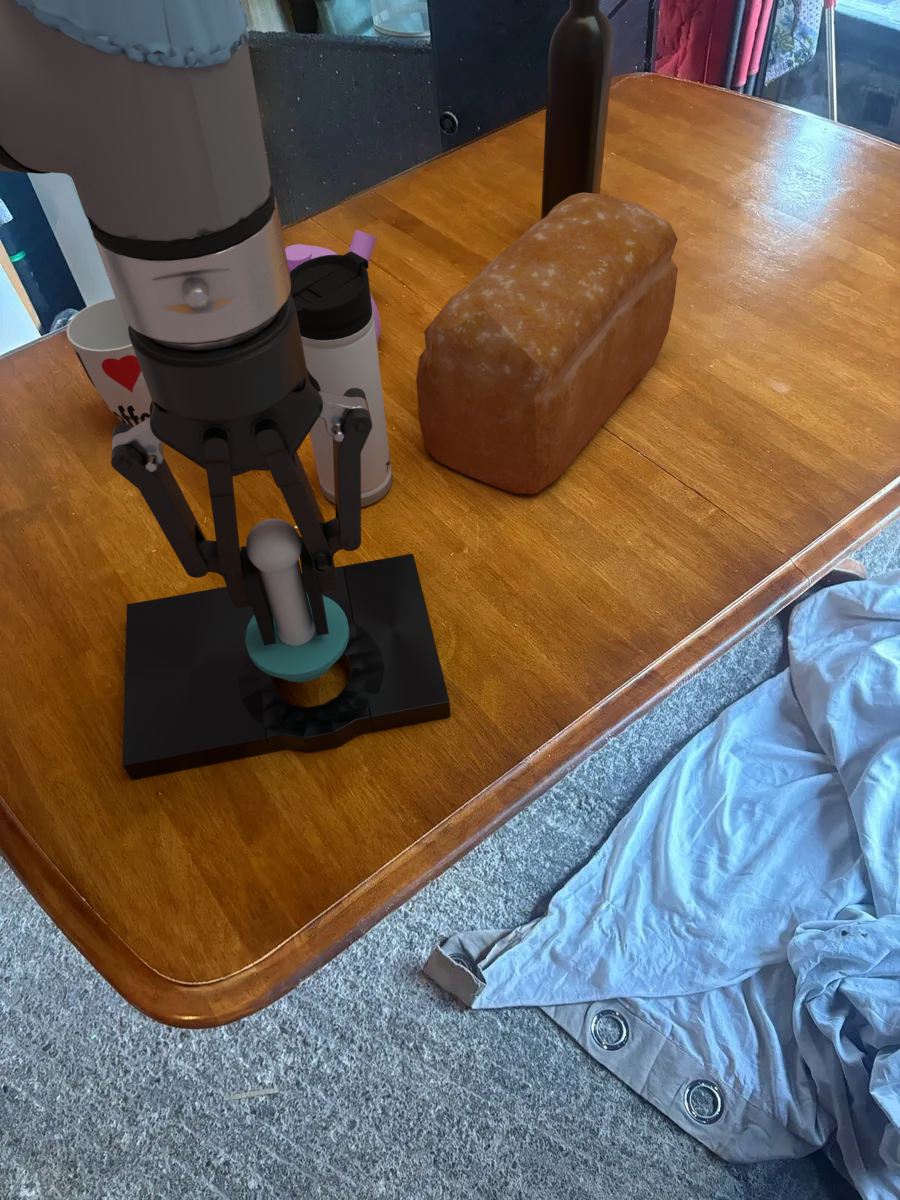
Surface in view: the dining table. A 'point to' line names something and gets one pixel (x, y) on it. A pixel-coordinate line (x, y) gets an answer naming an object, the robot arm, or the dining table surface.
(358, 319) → the travel mug
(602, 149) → the wine bottle
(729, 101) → the dining table surface
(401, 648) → the plate
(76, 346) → the cup
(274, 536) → the stopper
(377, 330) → the teapot
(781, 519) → the dining table surface
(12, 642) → the dining table surface
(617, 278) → the bread
